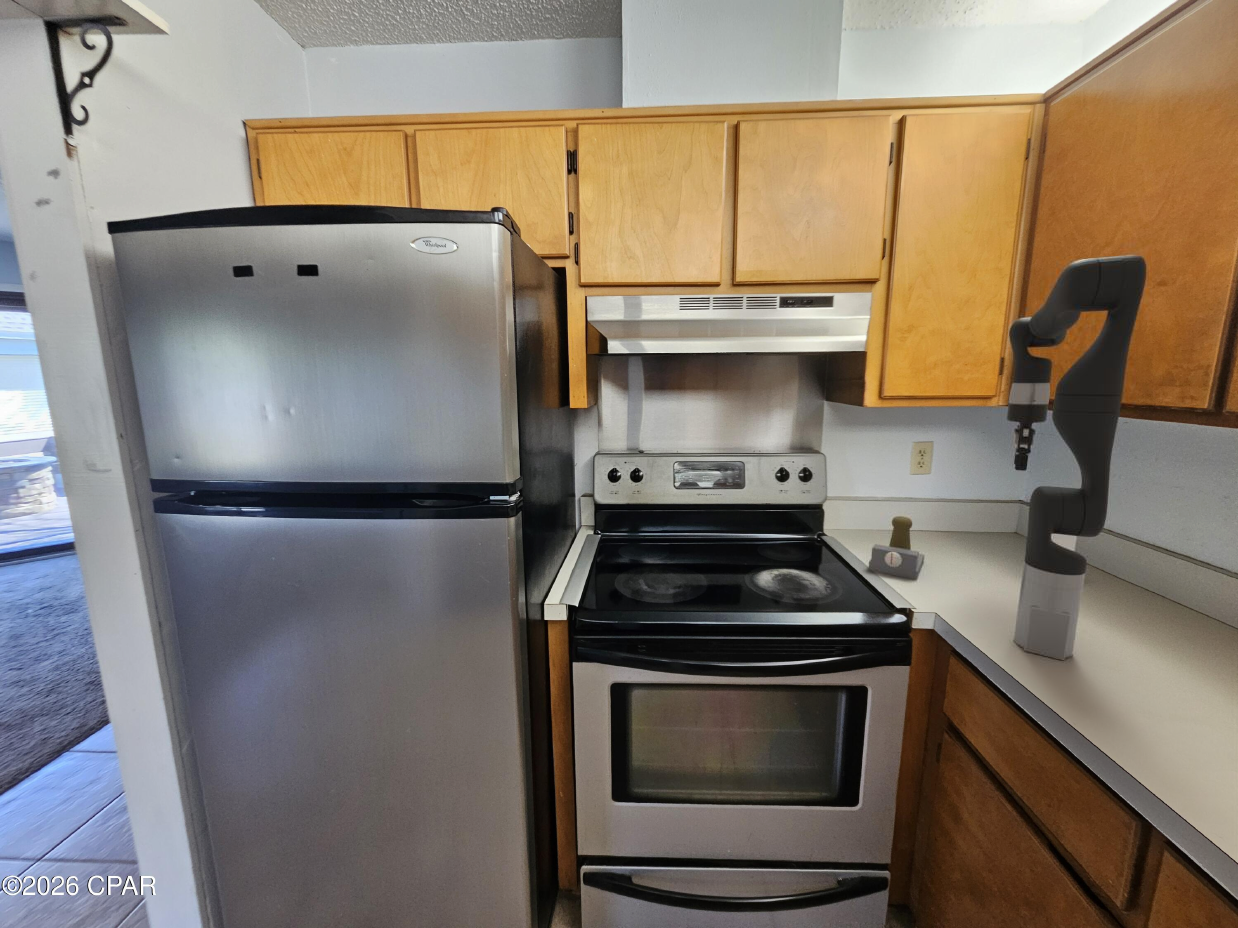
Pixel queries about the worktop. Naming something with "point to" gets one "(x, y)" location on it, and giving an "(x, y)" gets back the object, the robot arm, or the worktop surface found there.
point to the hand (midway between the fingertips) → (1019, 467)
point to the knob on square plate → (896, 561)
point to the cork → (901, 533)
